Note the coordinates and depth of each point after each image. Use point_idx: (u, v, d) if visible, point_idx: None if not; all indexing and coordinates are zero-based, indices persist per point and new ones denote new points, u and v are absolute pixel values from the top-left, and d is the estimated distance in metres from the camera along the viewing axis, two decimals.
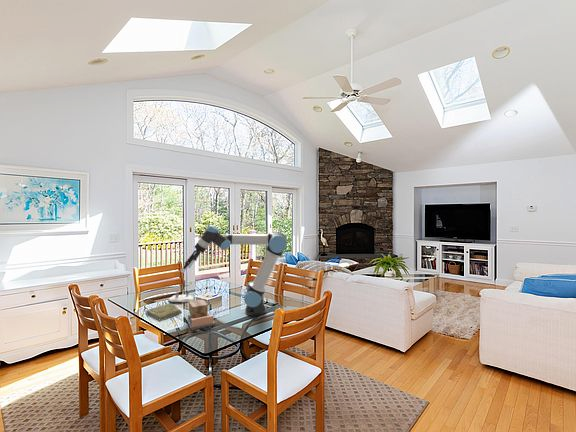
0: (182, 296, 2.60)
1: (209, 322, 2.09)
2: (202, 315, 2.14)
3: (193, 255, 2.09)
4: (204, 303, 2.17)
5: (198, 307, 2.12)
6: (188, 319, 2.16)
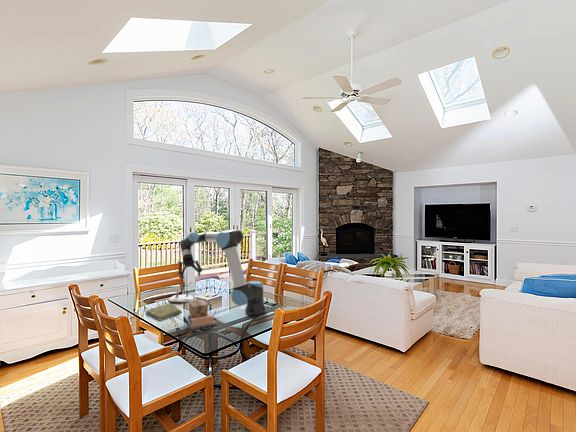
0: (182, 296, 2.60)
1: (209, 322, 2.09)
2: (202, 315, 2.14)
3: None
4: (204, 303, 2.17)
5: (198, 307, 2.12)
6: (188, 319, 2.16)
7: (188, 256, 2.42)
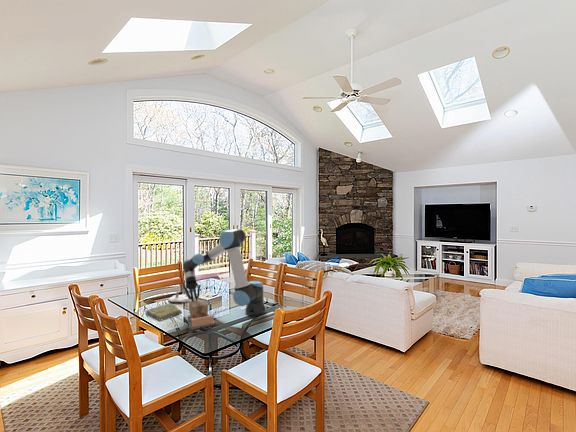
0: (182, 296, 2.60)
1: (209, 322, 2.09)
2: (202, 315, 2.14)
3: (185, 290, 2.30)
4: (204, 303, 2.17)
5: (198, 307, 2.12)
6: (188, 319, 2.16)
7: (191, 279, 2.34)
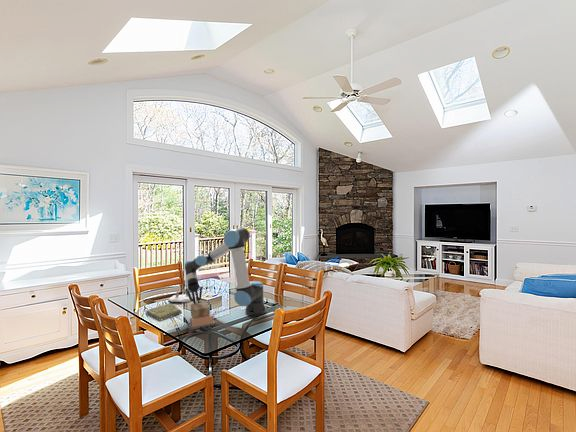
0: (182, 296, 2.60)
1: (209, 322, 2.09)
2: None
3: (187, 292, 2.25)
4: (206, 306, 2.12)
5: (200, 310, 2.07)
6: (188, 319, 2.16)
7: (193, 280, 2.29)
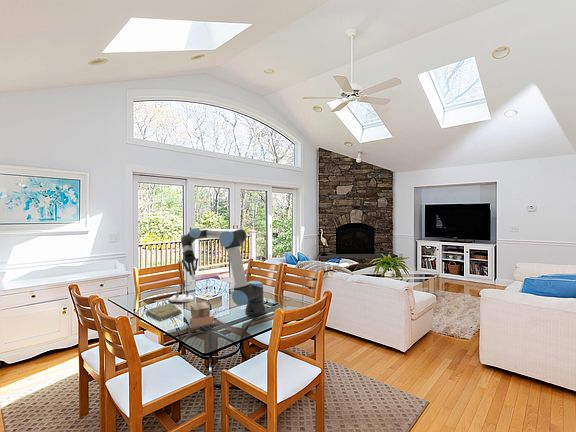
0: (182, 296, 2.60)
1: (209, 322, 2.09)
2: None
3: (183, 263, 2.34)
4: (206, 306, 2.12)
5: (200, 310, 2.07)
6: (188, 319, 2.16)
7: (189, 252, 2.38)
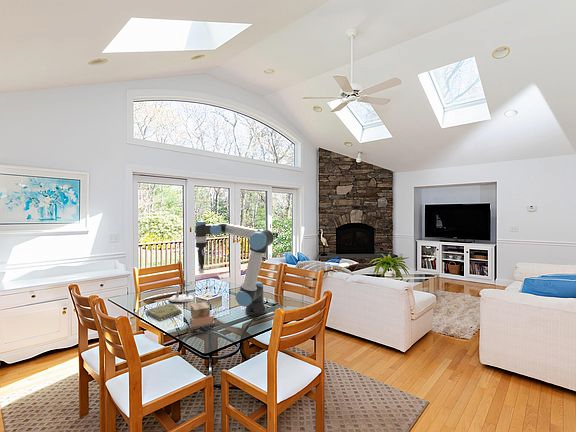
0: (182, 296, 2.60)
1: (209, 322, 2.09)
2: None
3: (203, 255, 2.26)
4: (206, 306, 2.12)
5: (200, 310, 2.07)
6: (188, 319, 2.16)
7: None
